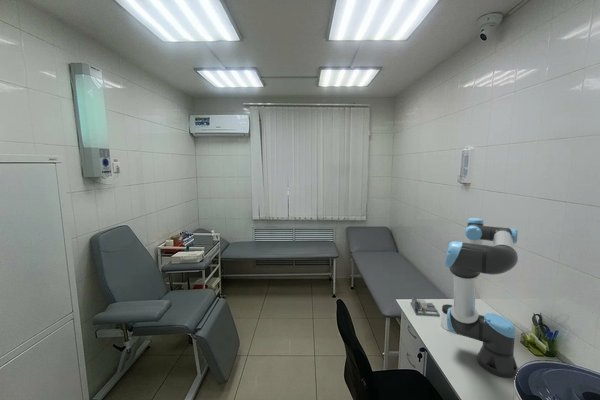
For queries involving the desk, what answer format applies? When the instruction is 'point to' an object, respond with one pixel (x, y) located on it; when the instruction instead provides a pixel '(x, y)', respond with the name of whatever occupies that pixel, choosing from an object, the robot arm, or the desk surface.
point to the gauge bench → (428, 312)
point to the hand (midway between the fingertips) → (471, 284)
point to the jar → (445, 316)
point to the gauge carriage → (422, 304)
